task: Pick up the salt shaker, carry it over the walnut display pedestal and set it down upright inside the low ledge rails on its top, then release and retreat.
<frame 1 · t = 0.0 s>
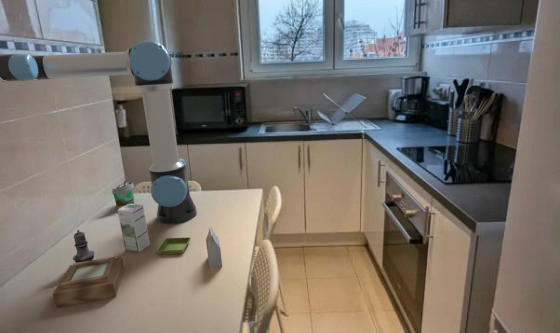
hand: (1, 172, 112), 28 cm above the table, fingers open, 13 cm apart
display pedestal: (93, 286, 98), on the table
syrup box: (138, 248, 118), on the table
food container: (129, 206, 157), on the table
grey upright block: (215, 262, 107), on the table
olive green shallow tray: (175, 250, 116), on the table
salt shaker: (86, 266, 109), on the table
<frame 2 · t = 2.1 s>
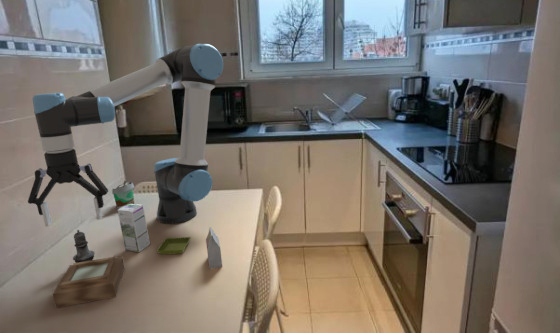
hand: (74, 221, 105), 15 cm above the table, fingers open, 13 cm apart
nothing on the table moved.
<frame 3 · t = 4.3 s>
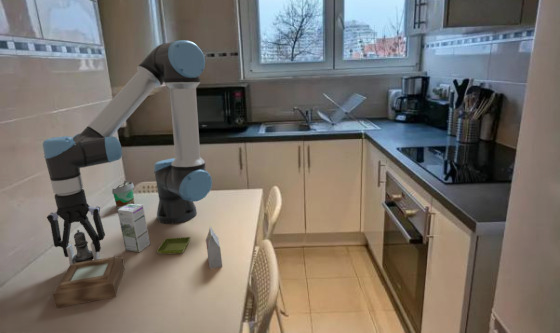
hand: (85, 263, 108), 1 cm above the table, fingers closed on salt shaker, 6 cm apart
salt shaker: (86, 266, 109), on the table, touching gripper
everything else where it was.
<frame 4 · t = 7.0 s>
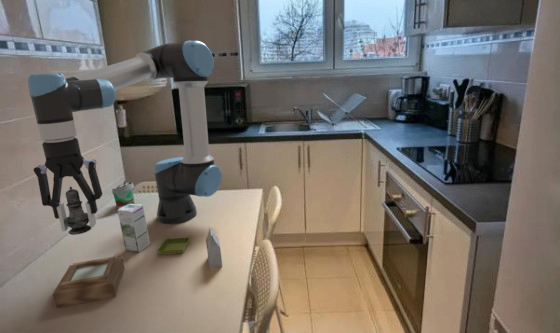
hand: (79, 226, 93), 18 cm above the table, fingers closed on salt shaker, 6 cm apart
salt shaker: (80, 230, 93), point 17 cm above the table, touching gripper
everything else where it was.
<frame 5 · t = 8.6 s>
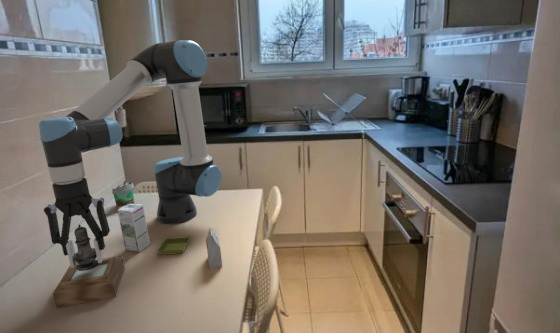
hand: (87, 262, 96), 7 cm above the table, fingers closed on salt shaker, 6 cm apart
salt shaker: (88, 266, 96), point 6 cm above the table, touching gripper
everything else where it was.
when the fingers open (6 cm above the table, at t = 9.7 s): salt shaker stays where it is, resting on display pedestal.
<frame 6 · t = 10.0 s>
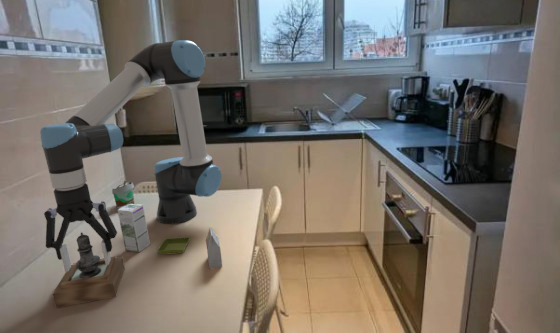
hand: (88, 265, 96), 7 cm above the table, fingers open, 9 cm apart
salt shaker: (90, 273, 97), point 4 cm above the table, touching display pedestal
everything else where it was.
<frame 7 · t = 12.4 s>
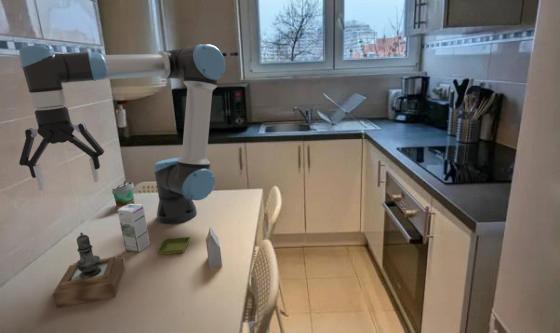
hand: (70, 184, 100), 27 cm above the table, fingers open, 13 cm apart
nothing on the table moved.
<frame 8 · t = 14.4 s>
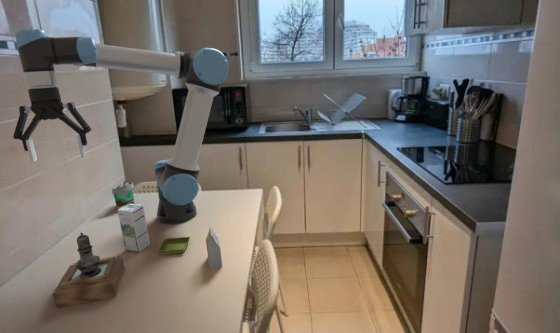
hand: (59, 158, 109), 32 cm above the table, fingers open, 13 cm apart
nothing on the table moved.
at the end: salt shaker inside the target area on the display pedestal (0.1 cm from its centre), point 4.0 cm above the display pedestal's base; salt shaker tilted 0°; the gripper is holding nothing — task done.
